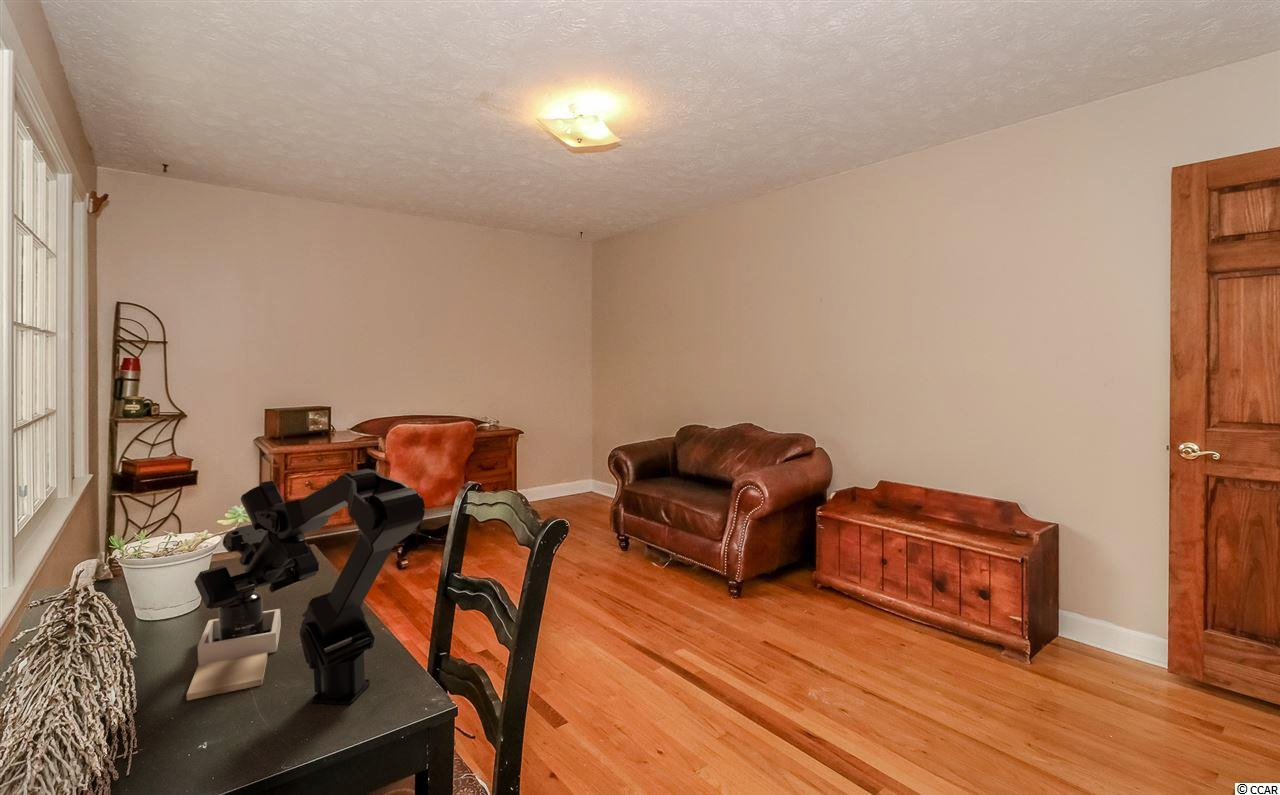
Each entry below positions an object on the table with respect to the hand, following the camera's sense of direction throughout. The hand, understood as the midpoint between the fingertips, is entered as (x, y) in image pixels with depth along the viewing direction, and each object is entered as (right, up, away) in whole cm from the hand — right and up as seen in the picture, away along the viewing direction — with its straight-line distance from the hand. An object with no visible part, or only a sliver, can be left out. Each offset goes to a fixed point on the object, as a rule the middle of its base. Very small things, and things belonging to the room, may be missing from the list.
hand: (245, 598), depth 112 cm
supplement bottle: (-1, -9, +2) cm, 10 cm away
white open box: (-1, -9, +2) cm, 9 cm away
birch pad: (+4, -10, -10) cm, 14 cm away
